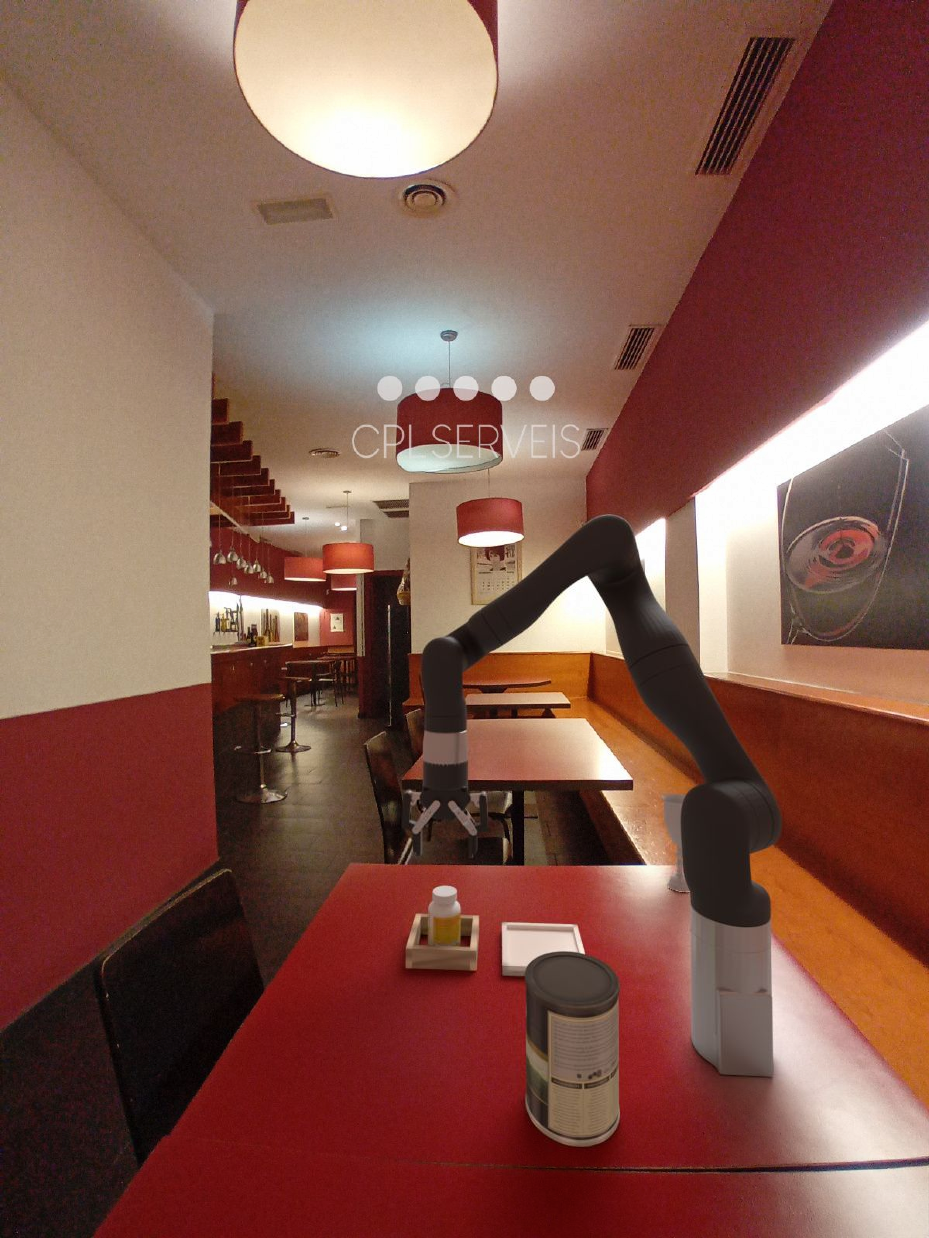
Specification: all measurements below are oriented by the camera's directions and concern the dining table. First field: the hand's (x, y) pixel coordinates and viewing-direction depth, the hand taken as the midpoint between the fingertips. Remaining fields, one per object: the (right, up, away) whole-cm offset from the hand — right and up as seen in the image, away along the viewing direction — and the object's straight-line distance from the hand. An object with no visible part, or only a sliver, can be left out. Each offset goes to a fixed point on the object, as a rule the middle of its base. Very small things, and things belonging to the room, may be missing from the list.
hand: (445, 855), depth 94 cm
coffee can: (+15, -15, -32) cm, 38 cm away
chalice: (+47, -16, +23) cm, 55 cm away
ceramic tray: (+16, -15, -2) cm, 22 cm away
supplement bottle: (0, -16, -1) cm, 16 cm away
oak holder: (0, -15, -1) cm, 15 cm away
